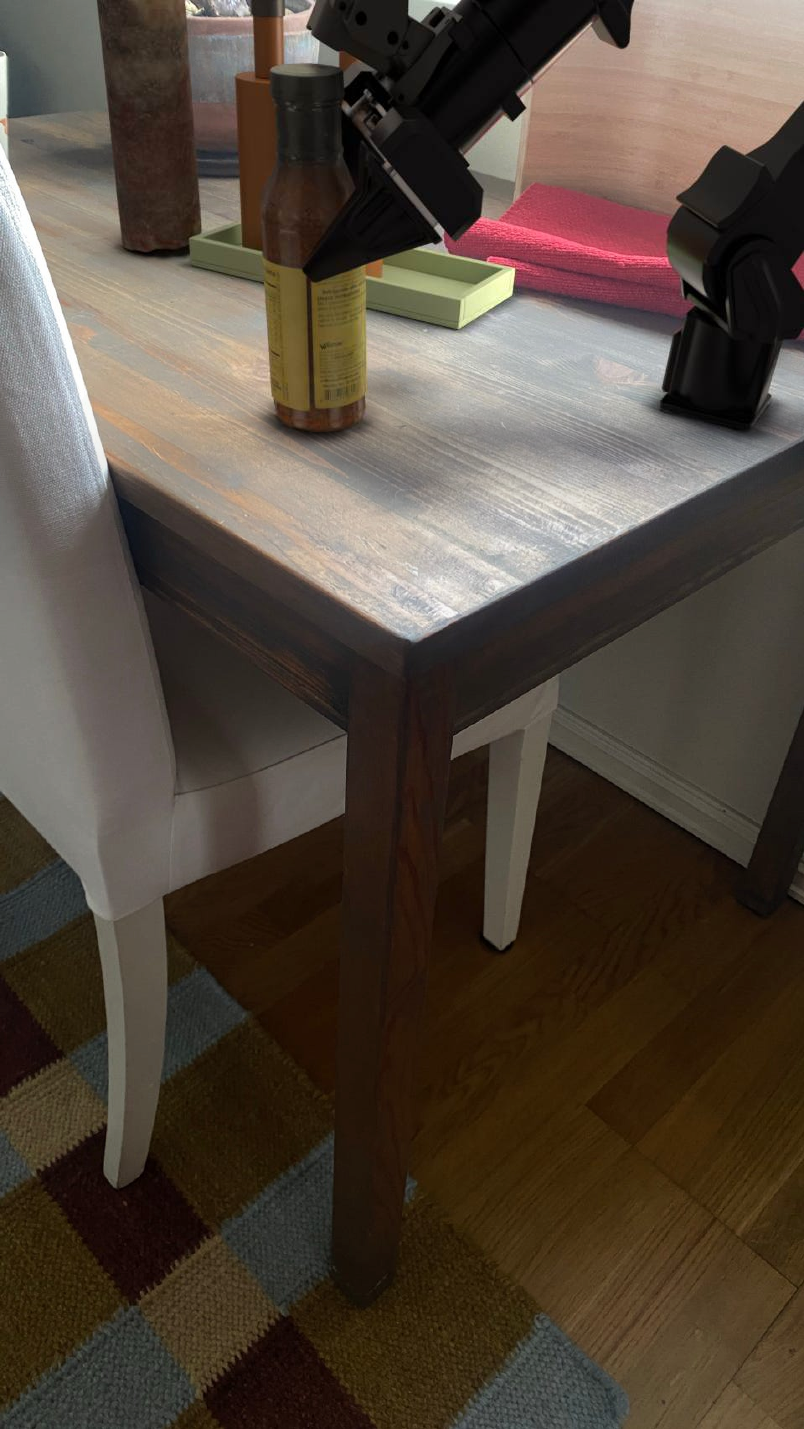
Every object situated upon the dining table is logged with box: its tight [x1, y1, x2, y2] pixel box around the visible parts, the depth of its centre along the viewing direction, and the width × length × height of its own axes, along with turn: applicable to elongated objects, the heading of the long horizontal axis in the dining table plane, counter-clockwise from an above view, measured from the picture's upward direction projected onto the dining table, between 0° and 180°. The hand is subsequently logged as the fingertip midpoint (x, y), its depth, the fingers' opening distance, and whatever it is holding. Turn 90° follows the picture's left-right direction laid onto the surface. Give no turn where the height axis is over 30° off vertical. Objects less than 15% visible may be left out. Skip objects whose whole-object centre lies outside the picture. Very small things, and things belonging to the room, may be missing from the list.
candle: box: [96, 0, 203, 253], centre depth 90 cm, size 8×7×20 cm
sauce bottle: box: [260, 62, 368, 433], centre depth 63 cm, size 7×6×20 cm
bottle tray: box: [188, 0, 516, 330], centre depth 85 cm, size 27×11×20 cm, turn 61°
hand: (298, 252), depth 62 cm, fingers open, 9 cm apart
